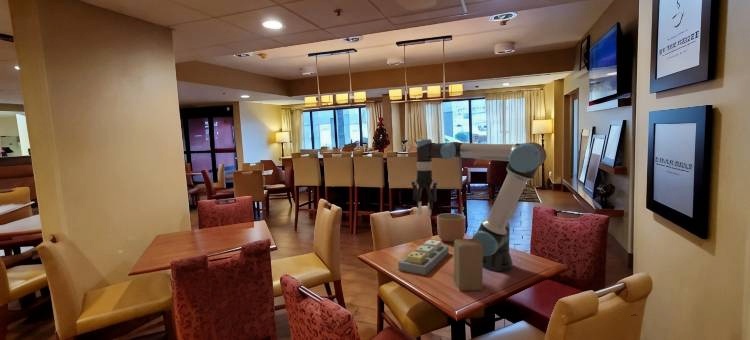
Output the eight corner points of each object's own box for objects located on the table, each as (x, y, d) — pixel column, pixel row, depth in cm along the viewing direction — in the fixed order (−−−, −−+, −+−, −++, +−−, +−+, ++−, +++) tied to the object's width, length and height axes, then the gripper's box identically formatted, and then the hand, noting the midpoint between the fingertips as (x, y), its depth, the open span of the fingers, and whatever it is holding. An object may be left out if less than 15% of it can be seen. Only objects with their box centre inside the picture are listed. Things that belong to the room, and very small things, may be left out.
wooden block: (475, 281, 162) (476, 237, 160) (483, 291, 152) (483, 245, 150) (453, 282, 161) (453, 238, 159) (459, 292, 152) (459, 245, 149)
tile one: (440, 248, 198) (440, 241, 198) (436, 252, 192) (436, 244, 192) (428, 246, 202) (428, 239, 201) (424, 250, 196) (424, 242, 195)
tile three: (425, 261, 179) (425, 253, 179) (420, 266, 173) (420, 257, 173) (412, 259, 183) (412, 251, 182) (407, 263, 177) (407, 255, 176)
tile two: (433, 254, 189) (433, 246, 188) (428, 258, 183) (428, 250, 182) (421, 252, 192) (421, 244, 192) (416, 256, 186) (416, 248, 186)
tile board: (448, 253, 199) (448, 246, 199) (425, 275, 170) (425, 267, 169) (424, 249, 206) (424, 242, 205) (398, 270, 177) (398, 262, 176)
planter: (471, 241, 219) (471, 217, 217) (450, 246, 210) (450, 221, 209) (452, 234, 233) (452, 211, 232) (431, 239, 225) (431, 215, 223)
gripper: (443, 169, 181) (443, 214, 184) (411, 168, 190) (411, 211, 193) (438, 171, 175) (438, 218, 178) (405, 169, 184) (406, 214, 186)
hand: (424, 214), depth 185 cm, fingers open, 4 cm apart
